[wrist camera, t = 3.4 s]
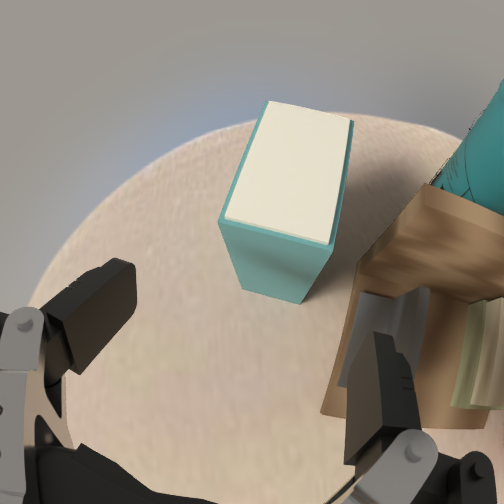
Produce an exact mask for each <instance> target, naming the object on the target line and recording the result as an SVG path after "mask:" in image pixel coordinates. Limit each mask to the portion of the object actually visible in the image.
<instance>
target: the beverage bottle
mask: <svg viewBox="0 0 504 504" xmlns="http://www.w3.org/2000/svg"><path fill="white" fill-rule="evenodd" d="M469 130H470V132H469V133H468V135H467V136H466V137H465V139H464V140H463V142H462V143H461V144H460V146H459V147H458V149H457V150H456V151H455V153H454V152H453V153H454V154H453V155H452V157H451V158H449V157H448V158H449V161H448V162H447V163H446V165H445V166H444V167H443V169H441V168H440V169H441V171H440V172H439V171H438V172H439V174H438V175H437V173H438V172H437V173H436V175H435V176H436V178H435V179H434V180H433V181H432V180H431V181H432V183H431V184H430V185H432V186H434V187H437V188H439V189H442V190H445V191H447V192H450V193H452V194H455V195H457V196H459V197H462V198H464V199H467V200H469V201H471V202H474V203H476V204H478V205H480V206H483V207H485V208H487V209H489V210H491V211H493V212H496V213H498V214H500V215H502V216H504V79H503V80H502V82H501V83H500V86H499V89H498V91H497V92H496V94H495V95H494V97H493V98H492V100H491V102H490V103H489V105H488V106H487V108H486V109H485V111H484V112H483V114H482V115H481V117H480V118H479V119H478V120H477V122H476V123H475V125H474V126H473V127H472V129H470V128H469ZM447 160H448V159H447ZM447 160H446V161H447ZM446 161H445V162H446ZM442 166H443V165H442ZM440 169H439V170H440ZM433 178H434V177H433ZM431 181H430V182H431Z"/></svg>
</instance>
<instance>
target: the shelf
mask: <svg viewBox="0 0 504 504" xmlns="http://www.w3.org/2000/svg"><path fill="white" fill-rule="evenodd" d="M369 331H375V332H379V333H384V334H389V335H392V336H393V338H394V343H395V348H396V352H398V353H402V354H403V355H404V357H405V358H406V360H407V361H408V363H409V364H410V367H411V372H412V376H413V379H412V381H414V386H415V390H414V391H415V392H416V397H417V403H418V409H419V415H420V421H421V428H435V429H484V426H485V423H486V419H487V416H488V412H489V410H504V216H502V215H500V214H498V213H496V212H493V211H491V210H489V209H487V208H485V207H483V206H480V205H478V204H476V203H474V202H471V201H469V200H467V199H464V198H462V197H459V196H457V195H455V194H452V193H450V192H447V191H445V190H442V189H439V188H437V187H434V186H432V185H429V184H426V183H425V184H424V185H423V186H422V187H421V189H420V190H419V191H418V192H417V194H416V195H415V196H414V197H413V199H412V200H411V201H410V202H409V204H408V205H407V206H406V207H405V208H404V210H403V211H402V212H401V213H400V214H399V216H398V217H397V218H396V219H395V220H394V222H393V223H392V224H391V225H390V226H389V227H388V229H387V230H386V231H385V232H384V233H383V234H382V236H381V237H380V238H379V239H378V240H377V241H376V242H375V244H374V245H373V246H372V247H371V248H370V249H369V250H368V251H367V253H366V254H365V255H364V256H363V257H362V258H361V259H360V260H359V261H358V263H357V268H356V273H355V279H354V284H353V289H352V293H351V298H350V303H349V307H348V312H347V316H346V321H345V325H344V329H343V333H342V337H341V341H340V345H339V349H338V353H337V357H336V360H335V364H334V367H333V371H332V375H331V378H330V381H329V385H328V388H327V392H326V395H325V398H324V401H323V404H322V408H321V411H320V413H321V414H322V415H327V416H332V417H338V418H344V419H346V410H347V377H348V372H349V369H350V366H351V364H352V362H353V360H354V358H355V356H356V354H357V353H358V351H359V349H360V347H361V345H362V343H363V341H364V339H365V337H366V336H367V334H368V333H369Z"/></svg>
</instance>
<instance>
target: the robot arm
mask: <svg viewBox="0 0 504 504" xmlns="http://www.w3.org/2000/svg"><path fill="white" fill-rule="evenodd" d="M136 306H137V286H136V268H135V265H134V264H133V263H130V262H127V261H124V260H121V259H118V258H112V259H111V260H109V261H108V262H107V263H105V264H104V265H103V266H102V267H97V268H95V269H92V270H90V271H87V272H85V273H84V274H83V275H81V276H80V277H79V278H77V279H76V281H74V282H72V283H71V284H70V285H69V287H66V288H65V289H63V290H62V291H61V292H60V293H58V294H57V295H56V296H55V297H54V298H52V299H51V300H50V301H49V302H47V303H46V304H45V305H44V306H43V307H41V308H40V309H37V308H34V307H23V308H20V309H17V310H15V311H14V312H12V313H11V314H6V313H2V312H0V504H217V503H214V502H210V501H207V500H204V499H198V498H189V497H182V496H175V495H169V494H163V493H158V492H154V491H152V490H150V489H149V488H147V487H146V486H145V485H143V484H142V483H141V482H139V481H138V480H137V479H135V478H134V477H133V476H132V475H130V474H129V473H128V472H127V471H125V470H124V469H123V468H122V467H121V466H119V465H118V464H117V463H116V462H114V461H112V460H110V459H108V458H106V457H105V456H103V455H101V454H99V453H97V452H96V451H94V450H92V449H91V448H89V447H87V446H86V445H84V444H82V443H81V444H80V445H79V447H78V448H77V450H75V449H74V447H73V443H72V439H71V436H70V433H69V430H68V426H67V414H66V377H65V372H66V371H67V370H68V369H70V370H72V371H73V372H75V373H77V374H78V375H81V374H82V372H83V371H84V370H85V369H86V368H87V367H88V365H89V364H90V363H91V362H92V361H93V360H94V358H95V357H96V356H97V355H98V354H99V353H100V351H101V350H102V349H103V348H104V347H105V346H106V345H107V343H108V342H109V341H110V340H111V339H112V338H113V337H114V335H115V334H116V333H117V332H118V331H119V330H120V329H121V328H122V326H123V325H124V324H125V323H126V322H127V321H128V320H129V319H130V317H131V316H132V315H133V313H134V311H135V309H136ZM412 379H413V376H412V372H411V367H410V364H409V363H408V361H407V360H406V358H405V357H404V355H403V354H402V353H398V352H396V348H395V343H394V338H393V336H392V335H389V334H384V333H379V332H375V331H369V333H368V334H367V336H366V337H365V339H364V341H363V343H362V345H361V347H360V349H359V351H358V353H357V354H356V356H355V358H354V360H353V362H352V364H351V366H350V369H349V372H348V377H347V410H346V434H345V451H344V465H353V466H355V474H354V475H353V476H352V477H351V478H350V479H349V480H348V481H347V482H346V483H345V484H344V485H343V486H342V487H341V488H340V489H339V490H338V491H336V492H335V493H334V494H333V495H332V496H331V497H330V498H329V499H328V500H327V501H326V502H324V503H323V504H497V495H496V485H495V476H494V469H493V465H492V463H491V461H490V459H489V458H488V457H487V456H486V455H485V454H483V453H481V452H478V451H472V452H469V453H468V454H466V455H465V456H464V457H463V458H461V459H456V458H453V457H451V456H448V455H445V454H442V453H439V452H438V449H437V446H436V444H435V442H434V440H433V439H432V438H431V437H430V436H429V435H428V434H427V433H425V432H423V431H422V428H421V421H420V415H419V409H418V403H417V397H416V392H415V391H414V390H415V386H414V381H412Z"/></svg>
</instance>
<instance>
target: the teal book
mask: <svg viewBox="0 0 504 504" xmlns="http://www.w3.org/2000/svg"><path fill="white" fill-rule="evenodd" d="M353 128H354V121H352V120H350V119H349V118H345V117H341V116H337V115H333V114H329V113H325V112H321V111H317V110H313V109H308V108H304V107H299V106H294V105H289V104H284V103H278V102H272V101H269V102H268V101H265V103H264V106H263V108H262V110H261V113H260V115H259V118H258V120H257V122H256V125H255V127H254V130H253V132H252V135H251V137H250V139H249V142H248V144H247V147H246V149H245V152H244V154H243V157H242V159H241V162H240V164H239V167H238V170H237V172H236V175H235V177H234V180H233V182H232V185H231V188H230V190H229V193H228V195H227V198H226V201H225V203H224V206H223V209H222V211H221V214H220V217H219V219H218V225H219V228H220V230H221V233H222V236H223V239H224V241H225V244H226V247H227V250H228V252H229V255H230V258H231V260H232V263H233V266H234V268H235V271H236V274H237V276H238V279H239V282H240V284H241V287H242V289H244V290H248V291H251V292H255V293H259V294H262V295H266V296H269V297H273V298H277V299H280V300H284V301H288V302H292V303H295V304H299V305H300V303H301V302H302V300H303V299H304V297H305V295H306V294H307V292H308V291H309V289H310V288H311V286H312V285H313V283H314V281H315V280H316V278H317V277H318V275H319V273H320V272H321V270H322V269H323V267H324V265H325V264H326V262H327V260H328V259H329V257H330V256H331V254H332V252H333V248H334V243H335V238H336V233H337V228H338V223H339V218H340V212H341V207H342V201H343V195H344V189H345V183H346V177H347V171H348V164H349V158H350V151H351V143H352V136H353Z"/></svg>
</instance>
